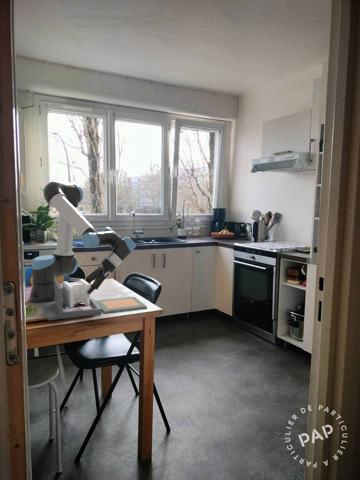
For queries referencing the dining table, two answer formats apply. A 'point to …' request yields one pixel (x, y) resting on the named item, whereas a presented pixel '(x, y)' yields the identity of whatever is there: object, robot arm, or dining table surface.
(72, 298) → the cable organizer
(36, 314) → the dining table surface
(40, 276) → the robot arm
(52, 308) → the grey tray holder
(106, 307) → the plate
